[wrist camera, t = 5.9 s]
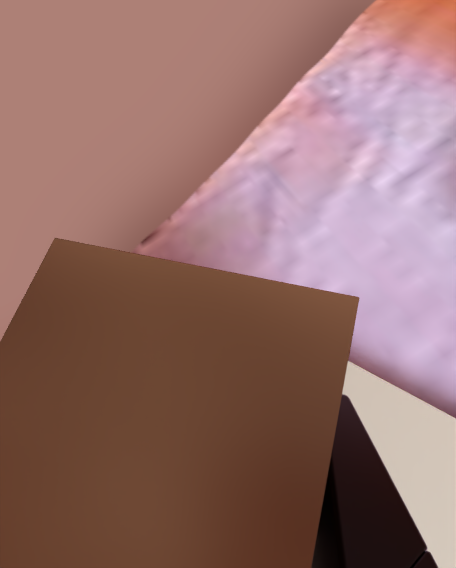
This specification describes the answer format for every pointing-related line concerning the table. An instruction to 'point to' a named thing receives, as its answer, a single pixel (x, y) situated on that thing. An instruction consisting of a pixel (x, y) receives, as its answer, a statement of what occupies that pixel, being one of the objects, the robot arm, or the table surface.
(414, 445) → the plate
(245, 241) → the table surface
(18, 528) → the brown wooden block
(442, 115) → the table surface
